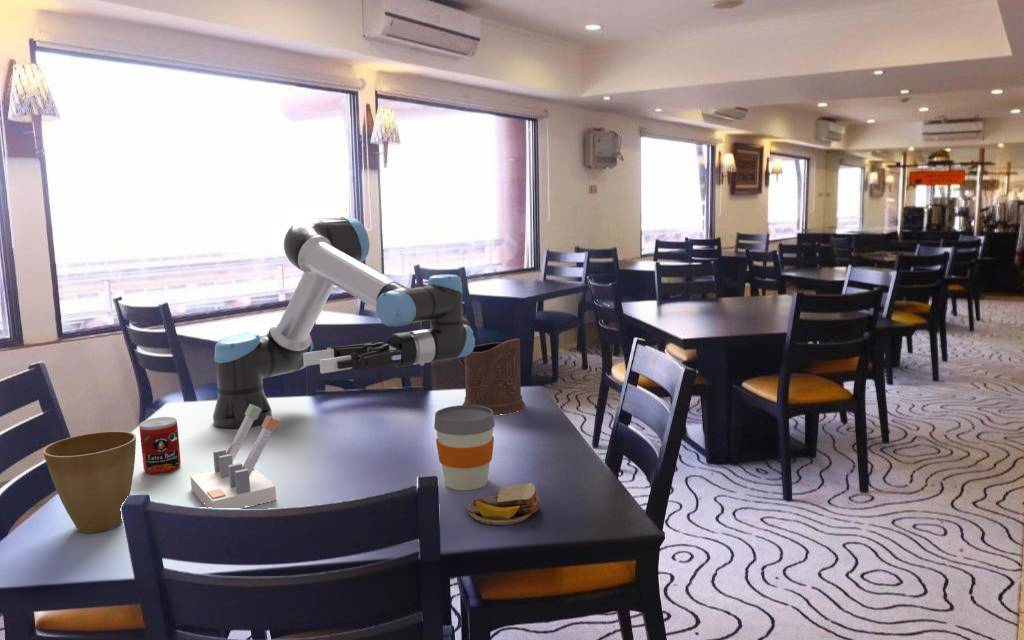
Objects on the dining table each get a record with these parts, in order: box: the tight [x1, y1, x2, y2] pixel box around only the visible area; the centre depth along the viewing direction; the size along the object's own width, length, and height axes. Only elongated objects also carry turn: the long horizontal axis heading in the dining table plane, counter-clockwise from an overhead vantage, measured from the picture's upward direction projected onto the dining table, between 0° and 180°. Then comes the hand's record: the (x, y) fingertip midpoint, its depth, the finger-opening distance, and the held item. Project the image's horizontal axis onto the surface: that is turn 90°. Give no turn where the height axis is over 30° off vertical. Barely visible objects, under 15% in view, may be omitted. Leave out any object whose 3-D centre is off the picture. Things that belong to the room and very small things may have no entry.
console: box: [190, 448, 277, 509], centre depth 153 cm, size 17×12×7 cm
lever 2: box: [235, 415, 280, 484], centre depth 150 cm, size 2×2×15 cm
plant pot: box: [42, 430, 137, 534], centre depth 139 cm, size 15×15×16 cm
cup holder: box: [456, 317, 527, 416], centre depth 215 cm, size 18×24×25 cm
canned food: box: [139, 416, 182, 476], centre depth 169 cm, size 8×8×11 cm
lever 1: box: [226, 404, 262, 462], centre depth 158 cm, size 2×2×15 cm
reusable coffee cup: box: [433, 404, 496, 491], centre depth 157 cm, size 13×13×15 cm
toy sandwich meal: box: [467, 482, 541, 526], centre depth 142 cm, size 12×14×5 cm
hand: (312, 363), depth 155 cm, fingers open, 8 cm apart
